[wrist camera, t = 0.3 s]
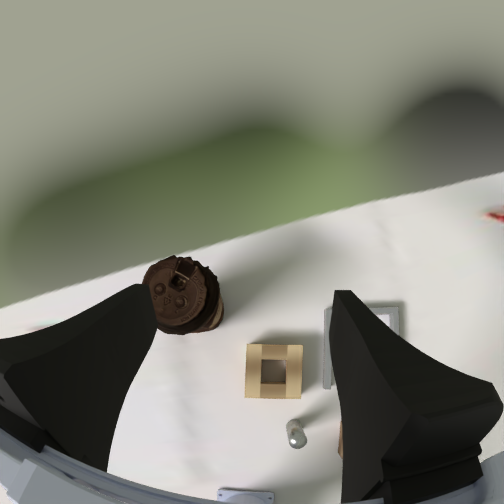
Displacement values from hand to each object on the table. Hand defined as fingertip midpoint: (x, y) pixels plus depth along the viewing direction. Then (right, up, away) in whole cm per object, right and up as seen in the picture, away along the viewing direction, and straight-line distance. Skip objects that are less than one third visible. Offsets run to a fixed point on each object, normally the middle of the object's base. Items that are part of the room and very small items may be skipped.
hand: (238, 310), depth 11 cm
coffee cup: (-6, -6, +29) cm, 30 cm away
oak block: (+3, -13, +26) cm, 29 cm away
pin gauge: (+6, -21, +23) cm, 32 cm away
